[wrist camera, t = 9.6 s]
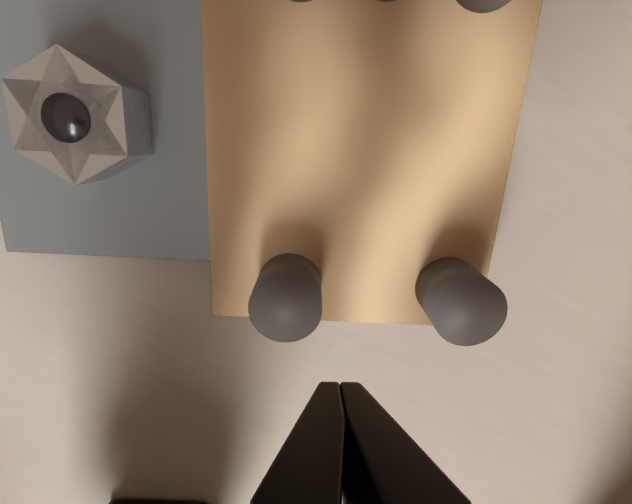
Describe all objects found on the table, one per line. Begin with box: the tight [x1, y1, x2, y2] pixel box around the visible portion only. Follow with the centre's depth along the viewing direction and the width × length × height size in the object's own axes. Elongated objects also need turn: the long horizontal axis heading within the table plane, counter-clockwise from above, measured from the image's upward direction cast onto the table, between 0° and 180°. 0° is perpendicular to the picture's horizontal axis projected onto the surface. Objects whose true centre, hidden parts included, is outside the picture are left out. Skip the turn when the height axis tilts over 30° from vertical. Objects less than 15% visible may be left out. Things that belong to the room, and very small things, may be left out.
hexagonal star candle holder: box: [1, 44, 154, 186], centre depth 15 cm, size 4×5×3 cm
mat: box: [0, 0, 210, 261], centre depth 17 cm, size 10×12×1 cm
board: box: [201, 0, 542, 346], centre depth 16 cm, size 14×18×4 cm
